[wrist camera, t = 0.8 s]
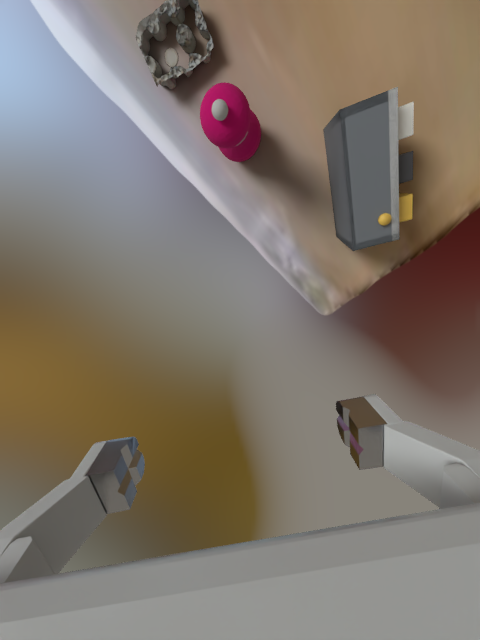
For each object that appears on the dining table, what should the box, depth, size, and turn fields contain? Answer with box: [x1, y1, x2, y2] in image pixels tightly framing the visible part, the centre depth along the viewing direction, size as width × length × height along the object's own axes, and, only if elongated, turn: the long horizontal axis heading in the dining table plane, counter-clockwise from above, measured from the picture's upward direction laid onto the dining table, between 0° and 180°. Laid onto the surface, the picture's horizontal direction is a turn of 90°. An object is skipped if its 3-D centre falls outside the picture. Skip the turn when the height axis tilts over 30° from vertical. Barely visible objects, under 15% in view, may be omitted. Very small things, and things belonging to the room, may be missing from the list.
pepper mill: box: [200, 83, 261, 162], centre depth 34 cm, size 7×7×20 cm
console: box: [323, 87, 399, 251], centre depth 38 cm, size 18×6×13 cm, turn 17°
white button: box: [398, 102, 414, 140], centre depth 34 cm, size 4×4×4 cm
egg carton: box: [136, 0, 214, 89], centre depth 37 cm, size 11×8×4 cm
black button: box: [398, 151, 413, 184], centre depth 37 cm, size 4×4×4 cm
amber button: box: [399, 193, 413, 222], centre depth 39 cm, size 4×4×4 cm
